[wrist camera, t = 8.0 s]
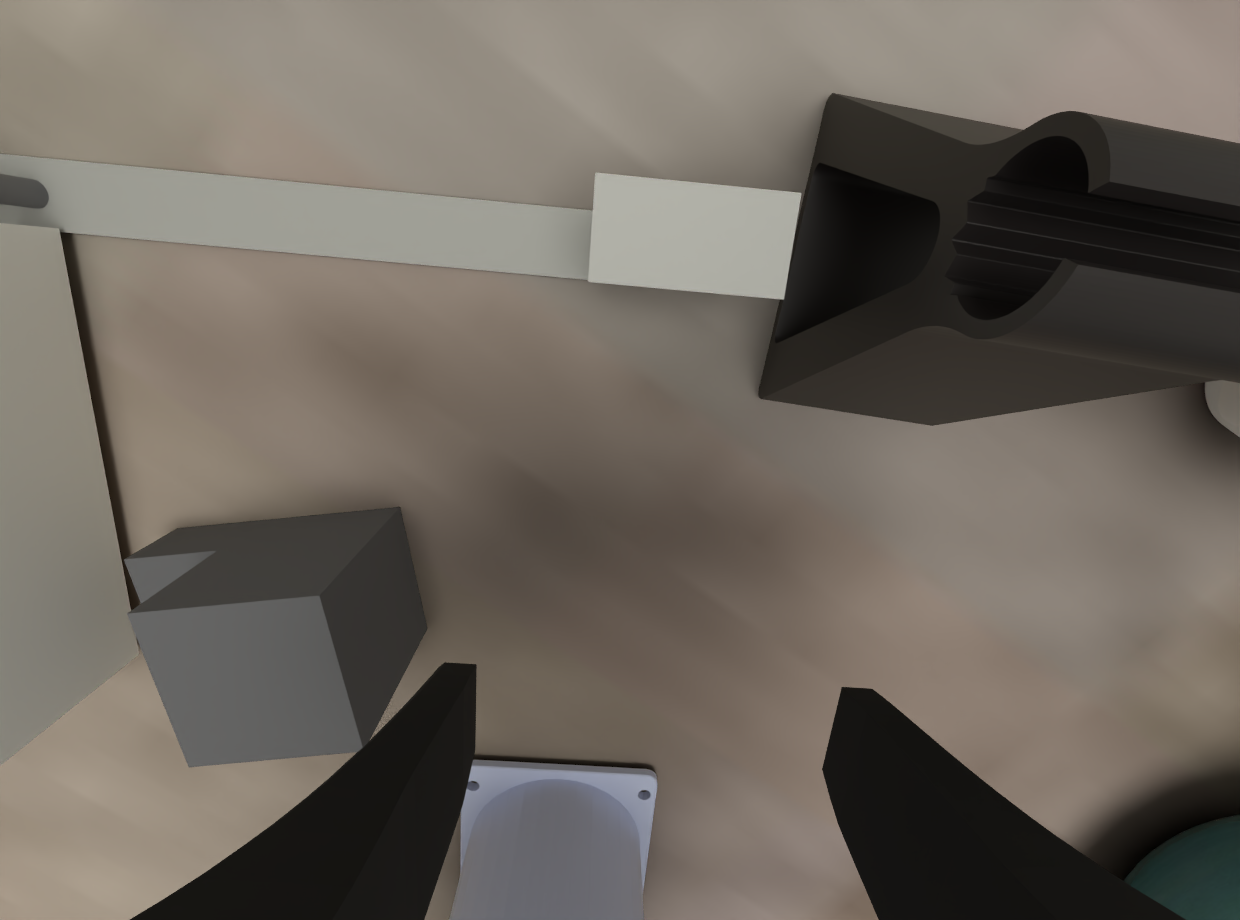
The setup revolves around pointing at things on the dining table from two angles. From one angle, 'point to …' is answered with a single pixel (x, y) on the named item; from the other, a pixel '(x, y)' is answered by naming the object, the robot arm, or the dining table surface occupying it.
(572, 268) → the grey u-shaped bar
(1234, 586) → the dining table surface
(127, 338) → the dining table surface
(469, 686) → the robot arm
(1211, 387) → the mug
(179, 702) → the dark grey block
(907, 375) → the phone stand
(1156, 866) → the vase
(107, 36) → the dining table surface
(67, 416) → the door
